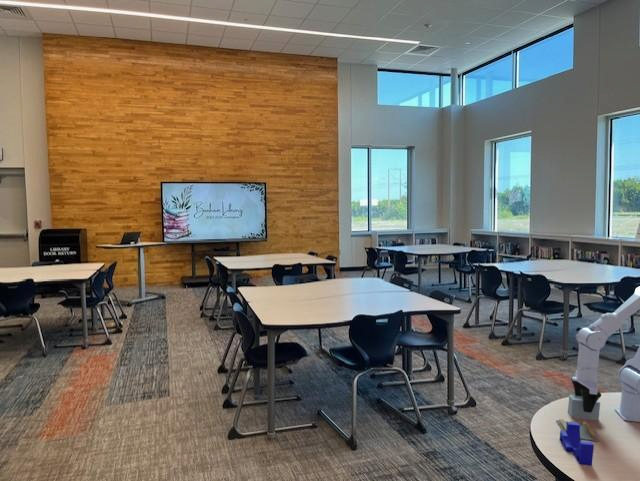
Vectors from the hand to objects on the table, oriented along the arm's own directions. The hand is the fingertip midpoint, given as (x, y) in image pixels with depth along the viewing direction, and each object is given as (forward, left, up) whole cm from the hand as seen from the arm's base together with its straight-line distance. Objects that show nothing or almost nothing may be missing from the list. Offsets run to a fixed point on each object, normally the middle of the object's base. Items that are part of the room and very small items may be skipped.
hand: (583, 406), depth 152 cm
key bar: (0, 0, -3) cm, 3 cm away
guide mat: (+5, +11, -3) cm, 12 cm away
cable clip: (+9, +24, -4) cm, 26 cm away
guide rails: (+5, +11, -3) cm, 12 cm away
